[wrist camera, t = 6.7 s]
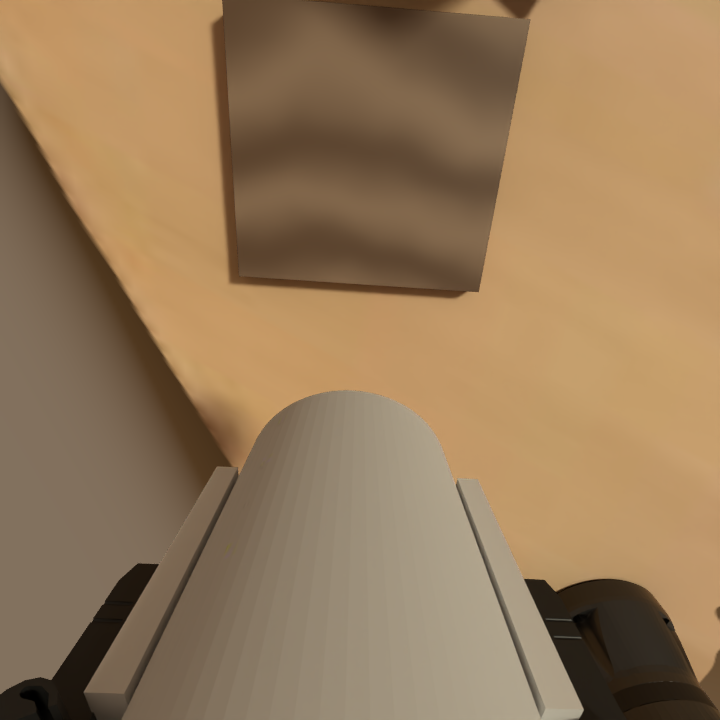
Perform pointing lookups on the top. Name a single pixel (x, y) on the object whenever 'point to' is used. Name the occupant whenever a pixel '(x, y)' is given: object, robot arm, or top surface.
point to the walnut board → (367, 139)
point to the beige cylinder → (339, 585)
